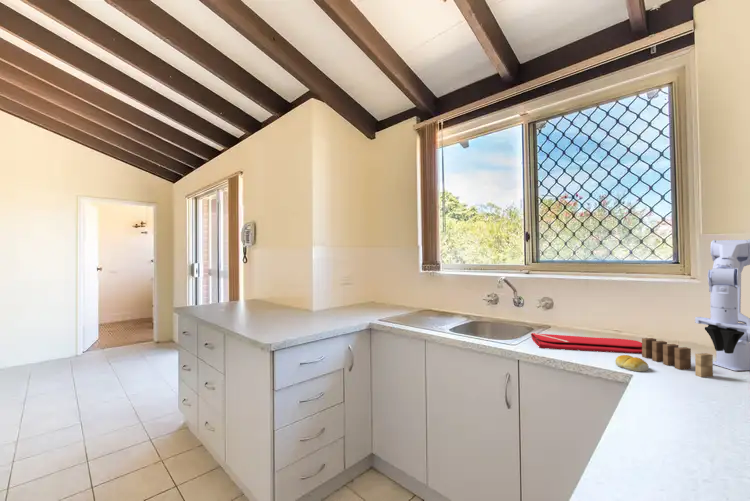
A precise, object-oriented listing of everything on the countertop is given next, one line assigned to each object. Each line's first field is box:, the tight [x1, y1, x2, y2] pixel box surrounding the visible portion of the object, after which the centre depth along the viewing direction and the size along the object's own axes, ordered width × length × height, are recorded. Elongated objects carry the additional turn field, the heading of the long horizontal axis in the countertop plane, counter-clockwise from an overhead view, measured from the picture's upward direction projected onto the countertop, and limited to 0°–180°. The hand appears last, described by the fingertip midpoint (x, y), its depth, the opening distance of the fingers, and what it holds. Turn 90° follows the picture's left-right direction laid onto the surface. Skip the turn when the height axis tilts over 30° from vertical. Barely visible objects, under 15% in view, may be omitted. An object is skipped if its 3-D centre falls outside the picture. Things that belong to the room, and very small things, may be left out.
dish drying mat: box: [530, 332, 642, 355], centre depth 138 cm, size 16×41×4 cm, turn 77°
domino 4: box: [674, 346, 692, 371], centre depth 111 cm, size 4×2×7 cm, turn 97°
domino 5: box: [694, 352, 714, 378], centre depth 105 cm, size 4×2×7 cm, turn 98°
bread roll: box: [614, 354, 650, 372], centre depth 113 cm, size 8×9×4 cm
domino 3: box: [662, 343, 679, 367], centre depth 115 cm, size 4×2×7 cm, turn 97°
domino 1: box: [641, 337, 657, 359], centre depth 123 cm, size 4×2×7 cm, turn 97°
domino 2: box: [651, 340, 668, 363], centre depth 119 cm, size 4×2×7 cm, turn 97°
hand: (724, 351), depth 100 cm, fingers closed
